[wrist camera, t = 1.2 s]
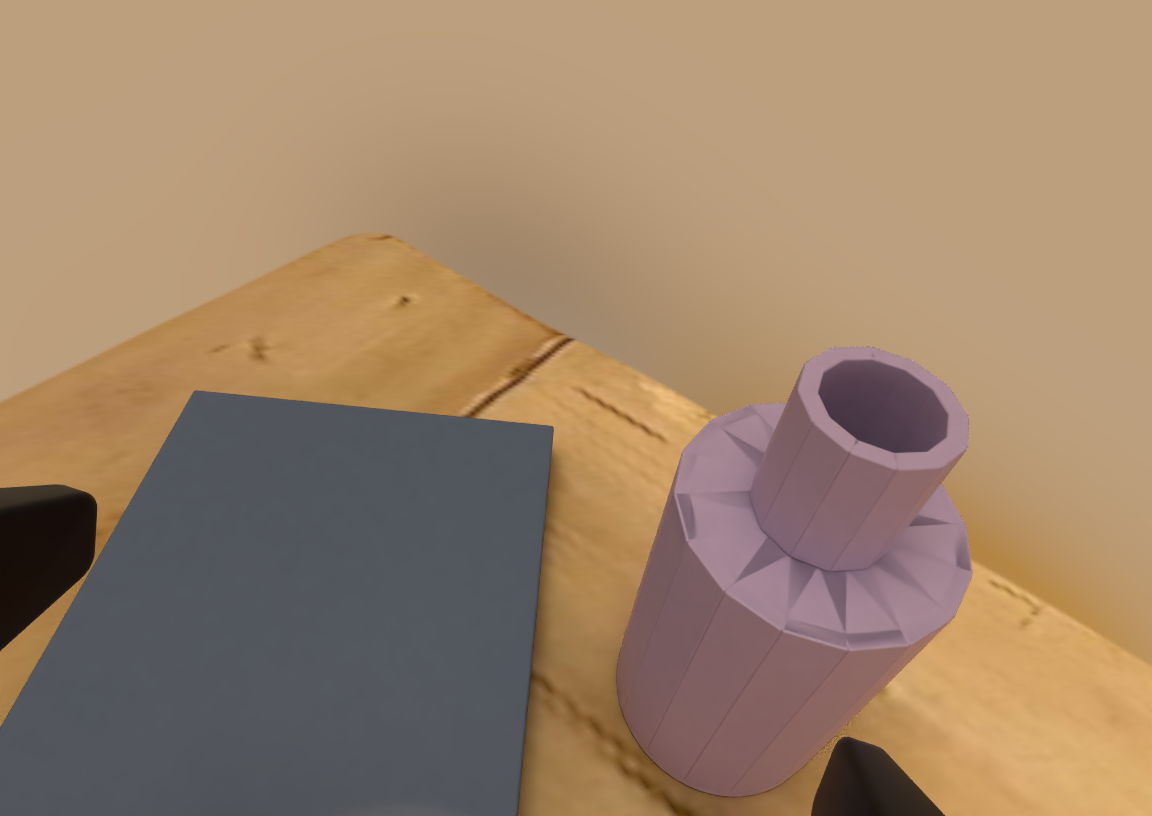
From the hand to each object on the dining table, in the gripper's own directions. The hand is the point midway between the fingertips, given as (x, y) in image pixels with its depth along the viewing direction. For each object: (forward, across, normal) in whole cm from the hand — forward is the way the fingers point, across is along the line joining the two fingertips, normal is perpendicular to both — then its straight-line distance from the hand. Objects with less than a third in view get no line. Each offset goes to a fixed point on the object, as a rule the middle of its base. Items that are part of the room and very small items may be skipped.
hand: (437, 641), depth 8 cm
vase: (+14, -6, +9) cm, 18 cm away
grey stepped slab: (+11, +7, +11) cm, 17 cm away
